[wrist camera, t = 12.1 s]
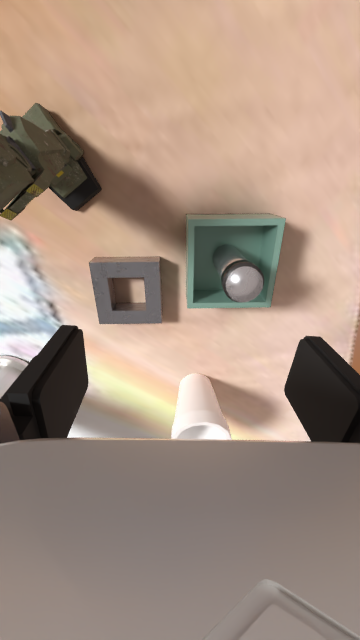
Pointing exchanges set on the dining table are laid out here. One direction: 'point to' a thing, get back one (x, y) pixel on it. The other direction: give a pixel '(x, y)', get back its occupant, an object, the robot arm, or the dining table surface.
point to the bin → (247, 237)
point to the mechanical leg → (40, 163)
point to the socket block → (127, 268)
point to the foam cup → (198, 411)
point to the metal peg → (237, 274)
